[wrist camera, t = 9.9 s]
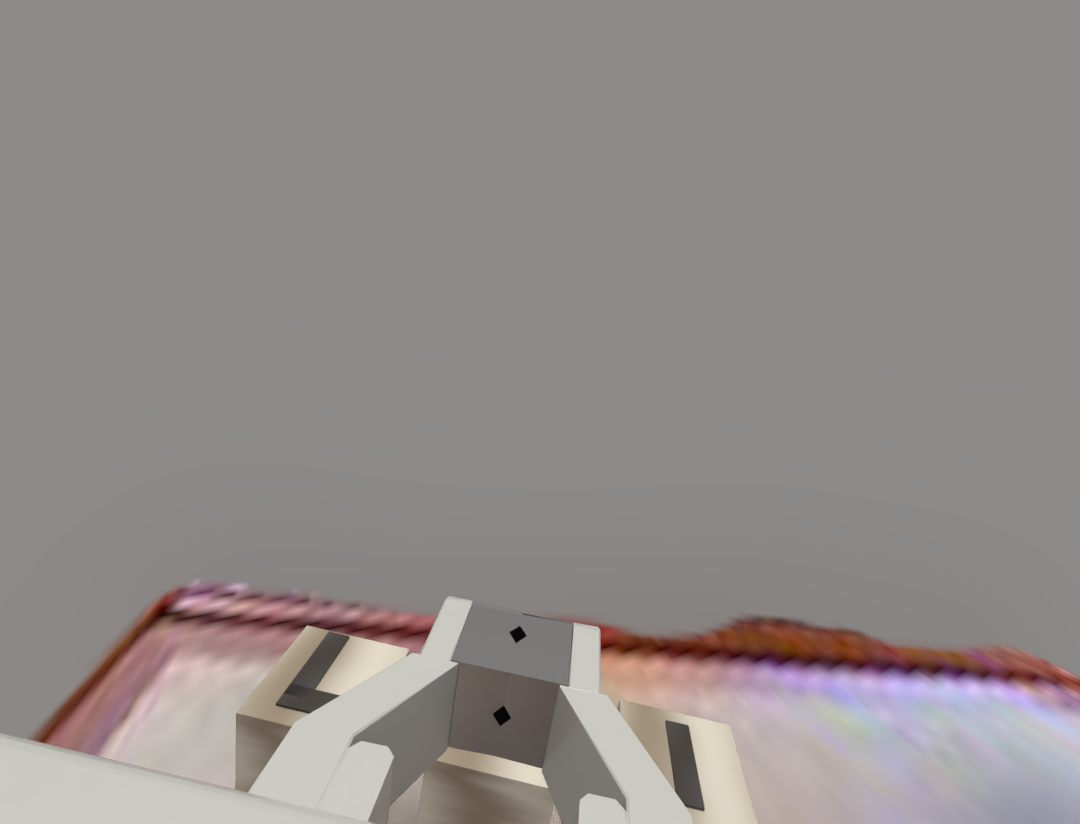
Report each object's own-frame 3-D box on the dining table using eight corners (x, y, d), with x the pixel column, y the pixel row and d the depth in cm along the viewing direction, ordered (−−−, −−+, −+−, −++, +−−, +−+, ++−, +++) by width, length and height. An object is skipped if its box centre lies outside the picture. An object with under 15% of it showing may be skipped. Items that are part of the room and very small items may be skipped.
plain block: (532, 827, 32) (566, 685, 29) (517, 951, 26) (557, 790, 23) (437, 803, 32) (460, 660, 29) (402, 920, 26) (426, 758, 23)
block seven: (391, 790, 32) (410, 645, 29) (345, 907, 26) (362, 741, 23) (300, 768, 33) (308, 621, 29) (234, 878, 27) (236, 710, 24)
